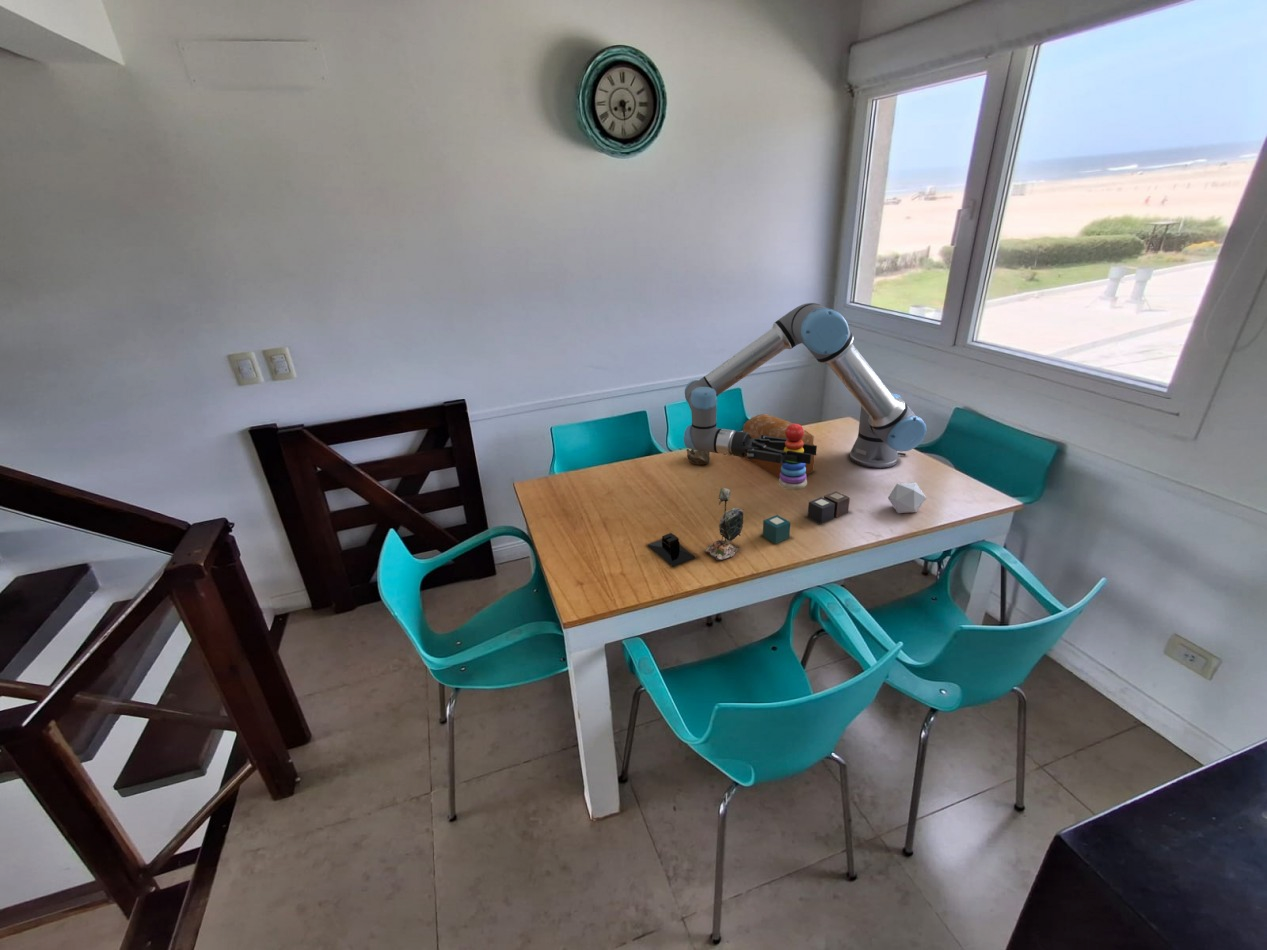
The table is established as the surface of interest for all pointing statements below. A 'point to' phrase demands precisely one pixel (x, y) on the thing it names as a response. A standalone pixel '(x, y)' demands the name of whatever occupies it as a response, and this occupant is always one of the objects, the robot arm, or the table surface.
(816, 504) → the charcoal block
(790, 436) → the stacking toy
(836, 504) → the walnut block
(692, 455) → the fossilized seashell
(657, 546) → the build plate
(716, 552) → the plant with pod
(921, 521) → the table surface
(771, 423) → the bread
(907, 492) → the die
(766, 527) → the teal block
